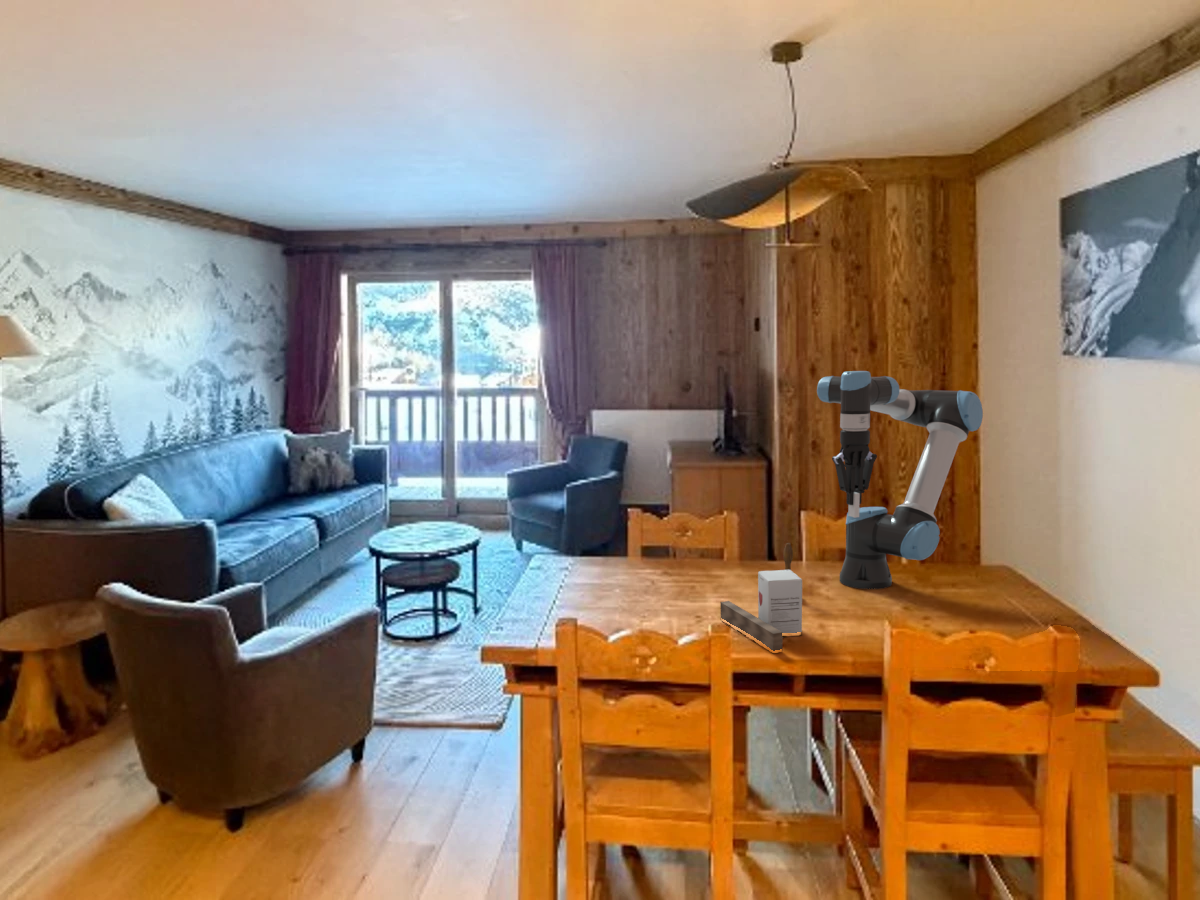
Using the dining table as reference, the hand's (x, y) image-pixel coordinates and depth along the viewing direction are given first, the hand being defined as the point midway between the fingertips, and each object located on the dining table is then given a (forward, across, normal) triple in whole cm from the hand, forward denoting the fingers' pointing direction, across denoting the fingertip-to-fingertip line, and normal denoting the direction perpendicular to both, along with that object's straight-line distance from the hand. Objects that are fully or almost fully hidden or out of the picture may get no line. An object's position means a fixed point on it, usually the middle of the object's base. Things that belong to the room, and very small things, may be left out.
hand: (853, 516), depth 215 cm
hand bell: (+27, -9, +18) cm, 33 cm away
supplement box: (+27, -26, -5) cm, 38 cm away
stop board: (+26, -35, -5) cm, 44 cm away
